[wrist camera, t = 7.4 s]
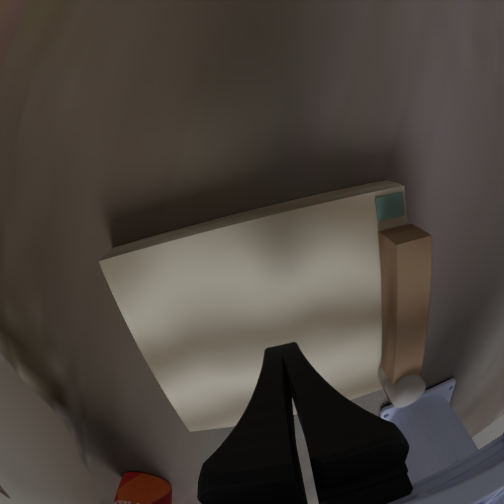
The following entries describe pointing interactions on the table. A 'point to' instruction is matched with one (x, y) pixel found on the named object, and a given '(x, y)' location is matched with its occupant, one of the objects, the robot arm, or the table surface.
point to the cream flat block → (259, 297)
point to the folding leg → (404, 310)
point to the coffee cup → (143, 489)
